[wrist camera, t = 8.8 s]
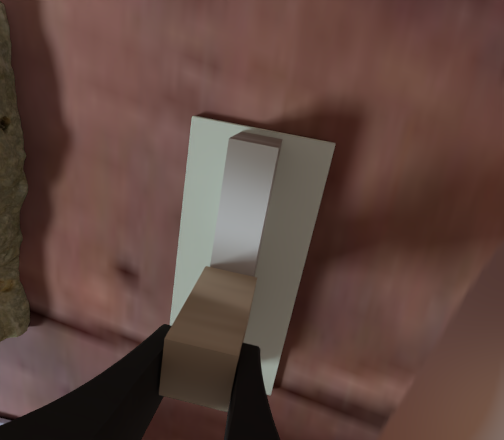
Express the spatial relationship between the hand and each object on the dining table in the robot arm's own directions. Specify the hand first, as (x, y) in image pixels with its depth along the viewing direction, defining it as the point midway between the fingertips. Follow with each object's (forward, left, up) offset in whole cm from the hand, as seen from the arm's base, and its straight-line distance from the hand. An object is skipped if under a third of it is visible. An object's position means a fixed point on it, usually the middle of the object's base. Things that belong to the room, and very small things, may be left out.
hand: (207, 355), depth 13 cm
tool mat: (0, 0, -7) cm, 7 cm away
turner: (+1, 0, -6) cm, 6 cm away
